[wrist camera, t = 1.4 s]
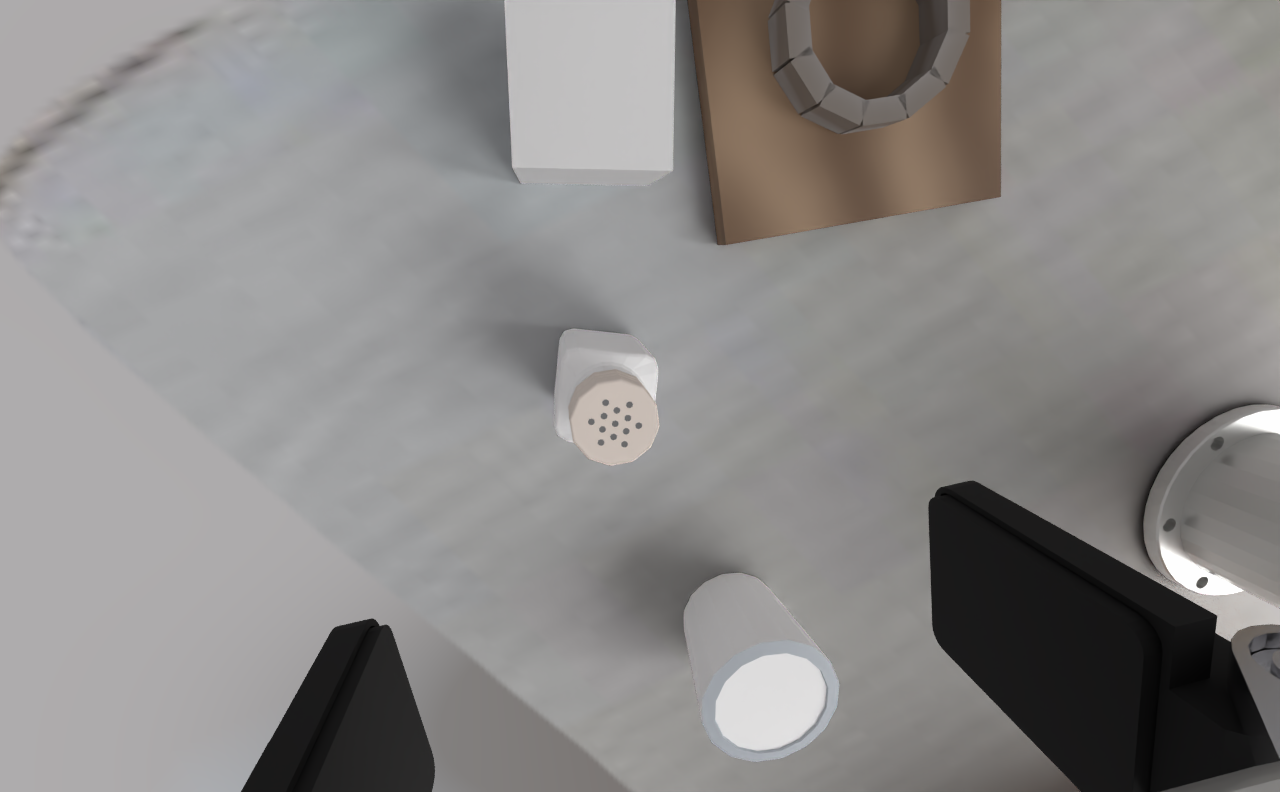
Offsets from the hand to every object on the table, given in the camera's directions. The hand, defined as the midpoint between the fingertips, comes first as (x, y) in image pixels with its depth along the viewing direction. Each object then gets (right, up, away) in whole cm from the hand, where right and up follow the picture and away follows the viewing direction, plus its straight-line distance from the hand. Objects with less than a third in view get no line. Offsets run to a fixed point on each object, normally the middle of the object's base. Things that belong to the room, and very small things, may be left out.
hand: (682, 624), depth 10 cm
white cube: (-3, +17, +17) cm, 24 cm away
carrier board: (+9, +20, +18) cm, 28 cm away
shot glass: (+5, -9, +25) cm, 27 cm away
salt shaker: (-3, +5, +20) cm, 21 cm away
